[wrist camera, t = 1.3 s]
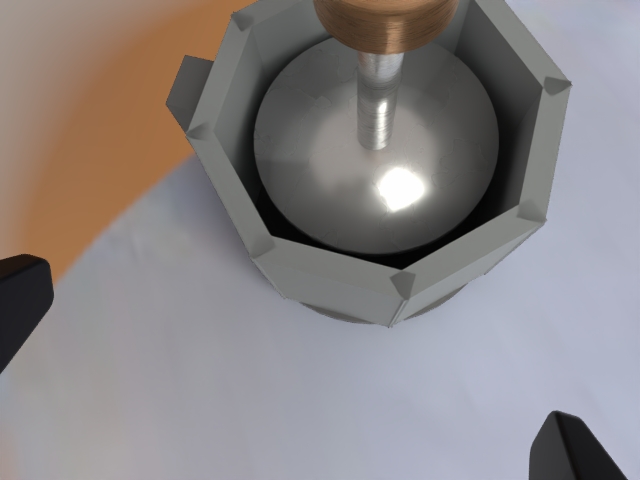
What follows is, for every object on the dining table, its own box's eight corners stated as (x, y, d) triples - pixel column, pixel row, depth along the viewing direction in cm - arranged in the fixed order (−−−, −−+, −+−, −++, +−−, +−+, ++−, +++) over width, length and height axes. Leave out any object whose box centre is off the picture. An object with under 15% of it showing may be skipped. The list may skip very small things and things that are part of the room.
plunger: (466, 285, 17) (625, 143, 7) (225, 221, 18) (66, 21, 8) (515, 65, 19) (692, -288, 9) (295, 21, 20) (236, -338, 10)
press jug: (468, 356, 22) (529, 341, 14) (182, 275, 24) (98, 223, 16) (520, 115, 25) (594, -7, 17) (260, 58, 26) (221, -76, 19)
